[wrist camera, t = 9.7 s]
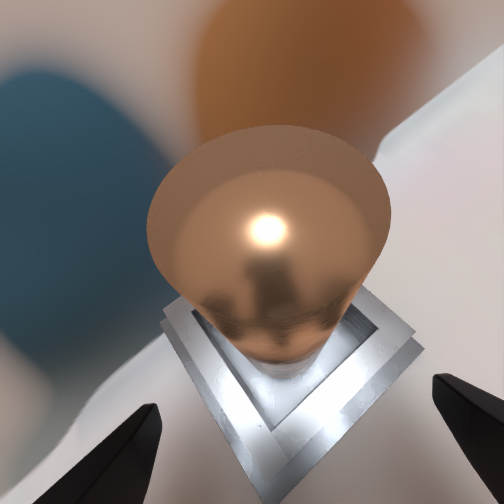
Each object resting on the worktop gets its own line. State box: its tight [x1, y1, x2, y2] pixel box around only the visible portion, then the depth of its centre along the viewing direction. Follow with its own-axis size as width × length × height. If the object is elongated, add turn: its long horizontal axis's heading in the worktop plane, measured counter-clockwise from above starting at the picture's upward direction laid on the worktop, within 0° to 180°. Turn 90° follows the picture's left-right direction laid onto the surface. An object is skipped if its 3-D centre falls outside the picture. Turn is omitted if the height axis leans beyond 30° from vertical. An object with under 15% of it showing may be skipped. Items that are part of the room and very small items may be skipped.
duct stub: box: [160, 285, 425, 504], centre depth 15 cm, size 12×12×4 cm
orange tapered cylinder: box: [147, 125, 391, 379], centre depth 11 cm, size 5×5×13 cm
